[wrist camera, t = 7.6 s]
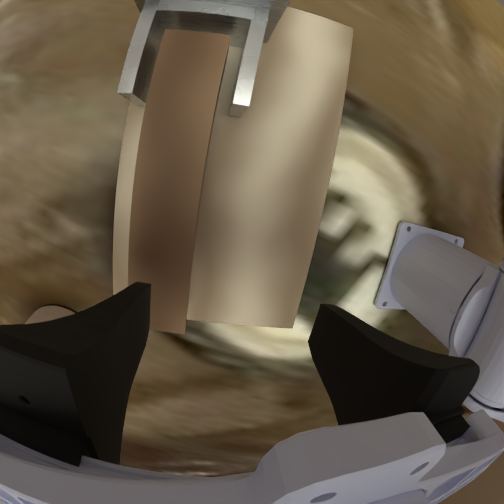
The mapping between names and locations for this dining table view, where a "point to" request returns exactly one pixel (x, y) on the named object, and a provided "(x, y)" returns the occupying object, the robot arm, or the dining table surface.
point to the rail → (173, 169)
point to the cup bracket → (202, 20)
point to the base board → (258, 177)
